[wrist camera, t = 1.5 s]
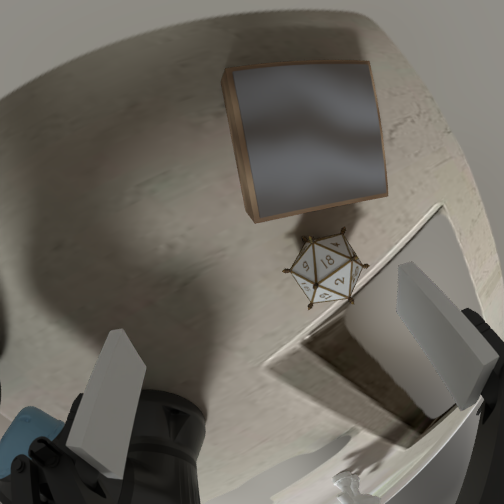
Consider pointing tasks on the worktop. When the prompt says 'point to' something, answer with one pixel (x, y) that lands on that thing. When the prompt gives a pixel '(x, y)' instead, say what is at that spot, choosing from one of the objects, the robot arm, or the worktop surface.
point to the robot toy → (352, 490)
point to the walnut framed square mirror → (305, 135)
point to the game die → (327, 269)
